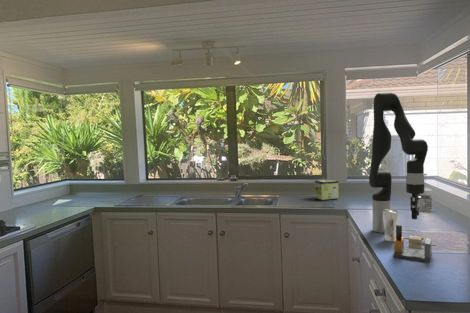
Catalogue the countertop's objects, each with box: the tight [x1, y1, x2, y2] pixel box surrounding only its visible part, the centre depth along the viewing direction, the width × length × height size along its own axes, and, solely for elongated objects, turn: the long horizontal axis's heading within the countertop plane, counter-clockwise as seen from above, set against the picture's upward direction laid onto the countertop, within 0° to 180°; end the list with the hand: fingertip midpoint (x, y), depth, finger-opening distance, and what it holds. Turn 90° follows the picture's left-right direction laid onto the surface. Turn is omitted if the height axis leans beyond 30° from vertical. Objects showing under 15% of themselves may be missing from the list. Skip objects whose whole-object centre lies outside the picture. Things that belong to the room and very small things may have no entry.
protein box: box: [314, 179, 339, 202], centre depth 295 cm, size 10×16×16 cm
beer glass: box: [383, 208, 399, 243], centre depth 182 cm, size 7×7×15 cm
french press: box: [418, 173, 434, 213], centre depth 246 cm, size 10×12×25 cm
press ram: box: [393, 224, 405, 253], centre depth 162 cm, size 7×3×11 cm, turn 148°
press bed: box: [392, 236, 432, 263], centre depth 159 cm, size 12×14×8 cm
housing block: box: [408, 235, 423, 249], centre depth 170 cm, size 5×5×5 cm
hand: (415, 217), depth 169 cm, fingers open, 8 cm apart
